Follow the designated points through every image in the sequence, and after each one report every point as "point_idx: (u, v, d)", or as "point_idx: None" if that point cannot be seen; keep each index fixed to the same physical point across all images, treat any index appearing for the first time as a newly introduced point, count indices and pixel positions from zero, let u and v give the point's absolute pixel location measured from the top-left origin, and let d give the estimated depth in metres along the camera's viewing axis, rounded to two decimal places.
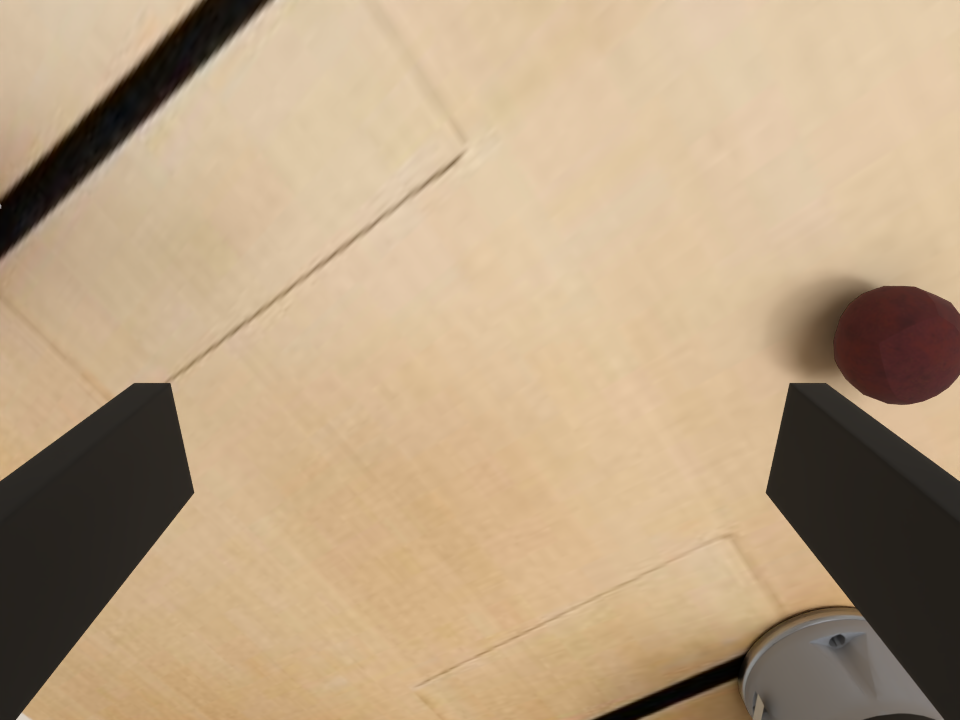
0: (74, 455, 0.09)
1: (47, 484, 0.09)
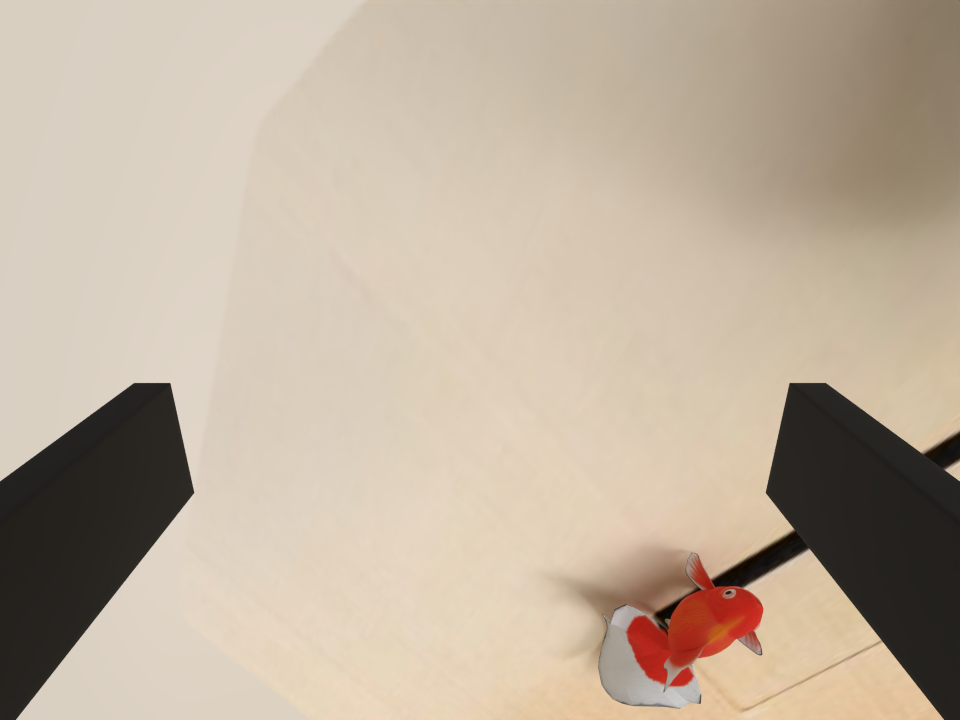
0: (74, 455, 0.09)
1: (46, 484, 0.09)
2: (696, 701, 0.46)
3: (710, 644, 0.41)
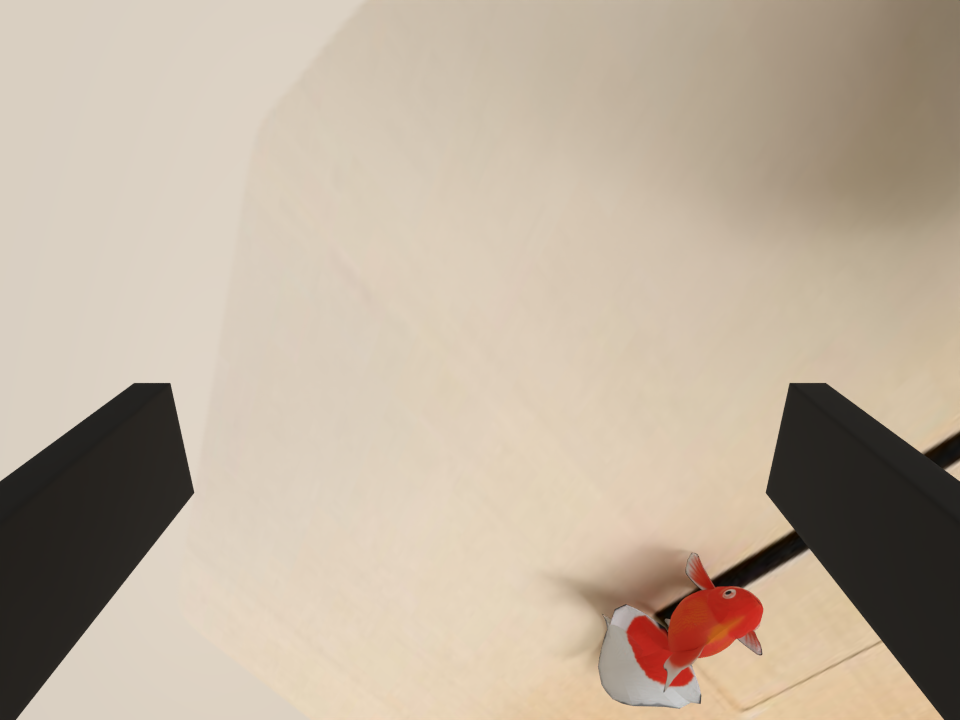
0: (74, 455, 0.09)
1: (46, 484, 0.09)
2: (696, 701, 0.46)
3: (710, 644, 0.41)
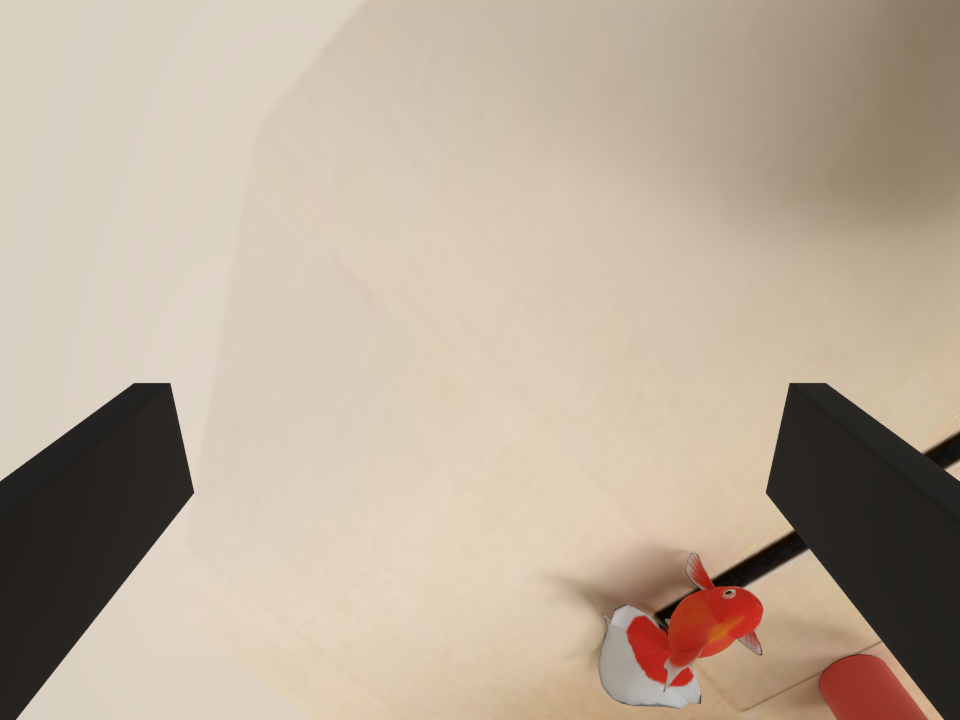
0: (74, 455, 0.09)
1: (46, 484, 0.09)
2: (696, 701, 0.46)
3: (710, 644, 0.41)
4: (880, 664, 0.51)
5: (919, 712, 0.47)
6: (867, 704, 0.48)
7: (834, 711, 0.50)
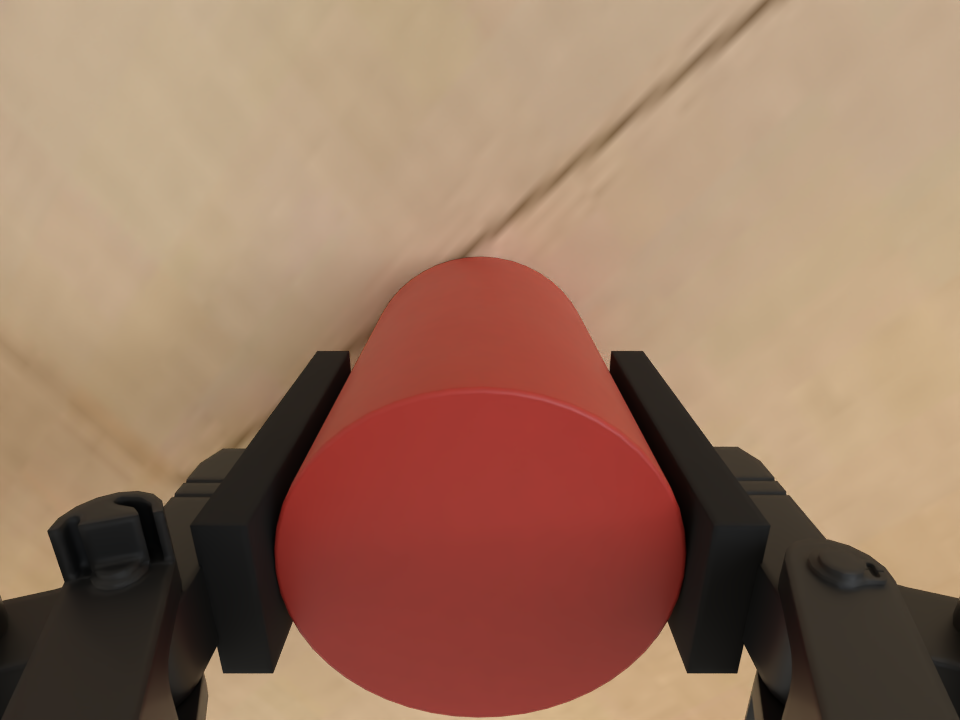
0: (311, 404, 0.11)
1: (305, 424, 0.10)
2: None
3: None
4: (524, 271, 0.15)
5: (562, 334, 0.11)
6: (381, 335, 0.12)
7: None
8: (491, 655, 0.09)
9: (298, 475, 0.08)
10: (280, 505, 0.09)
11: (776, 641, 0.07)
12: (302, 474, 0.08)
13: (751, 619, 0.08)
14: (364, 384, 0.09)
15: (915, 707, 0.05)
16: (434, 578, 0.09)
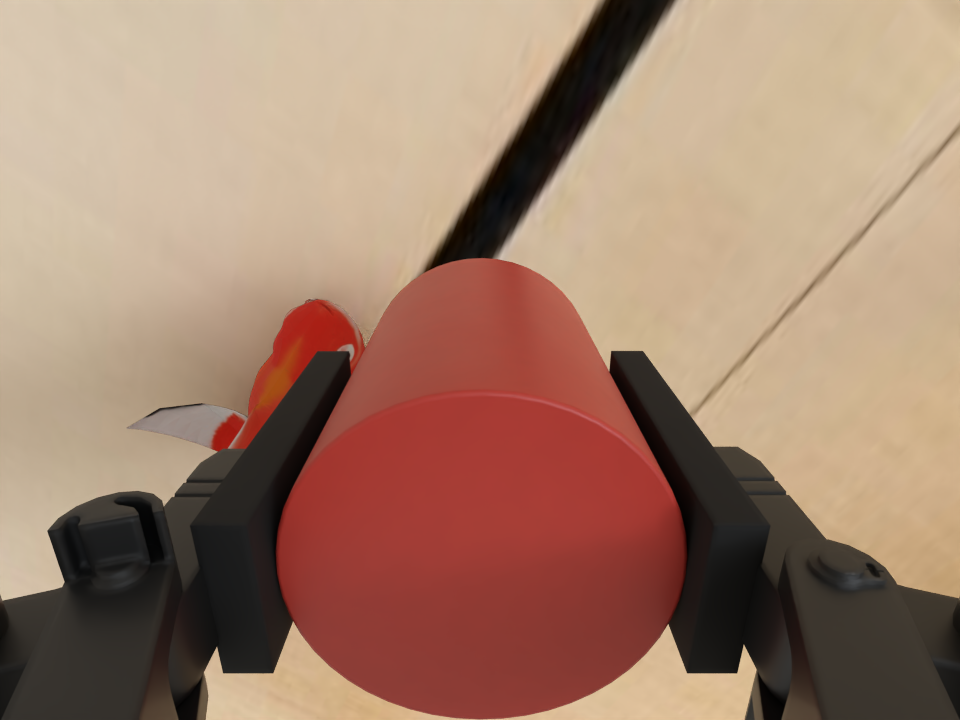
0: (311, 404, 0.11)
1: (305, 424, 0.10)
2: None
3: (268, 409, 0.22)
4: (525, 273, 0.15)
5: (563, 336, 0.11)
6: (382, 336, 0.12)
7: None
8: (492, 657, 0.09)
9: (300, 478, 0.08)
10: (280, 505, 0.09)
11: (776, 641, 0.07)
12: (304, 477, 0.08)
13: (752, 619, 0.08)
14: (365, 386, 0.09)
15: (913, 707, 0.05)
16: (435, 580, 0.09)
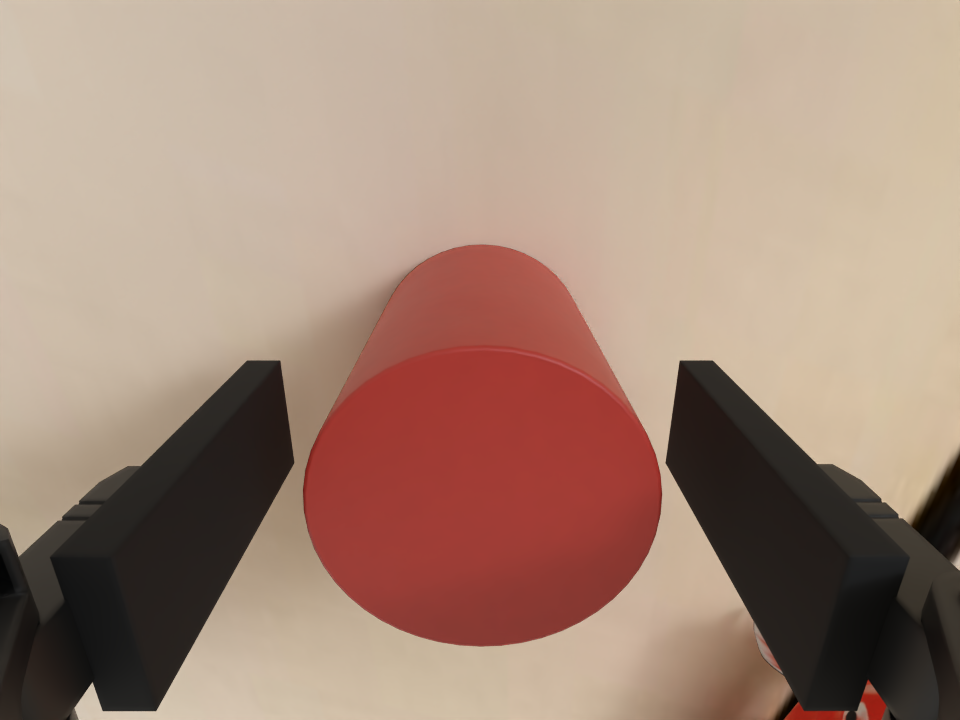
0: (223, 419, 0.10)
1: (210, 441, 0.10)
2: None
3: None
4: (522, 258, 0.16)
5: (555, 309, 0.12)
6: (392, 311, 0.13)
7: None
8: (492, 588, 0.11)
9: (325, 423, 0.09)
10: (168, 530, 0.08)
11: (915, 676, 0.07)
12: (329, 422, 0.09)
13: (882, 655, 0.08)
14: (380, 349, 0.10)
15: None
16: (443, 516, 0.10)
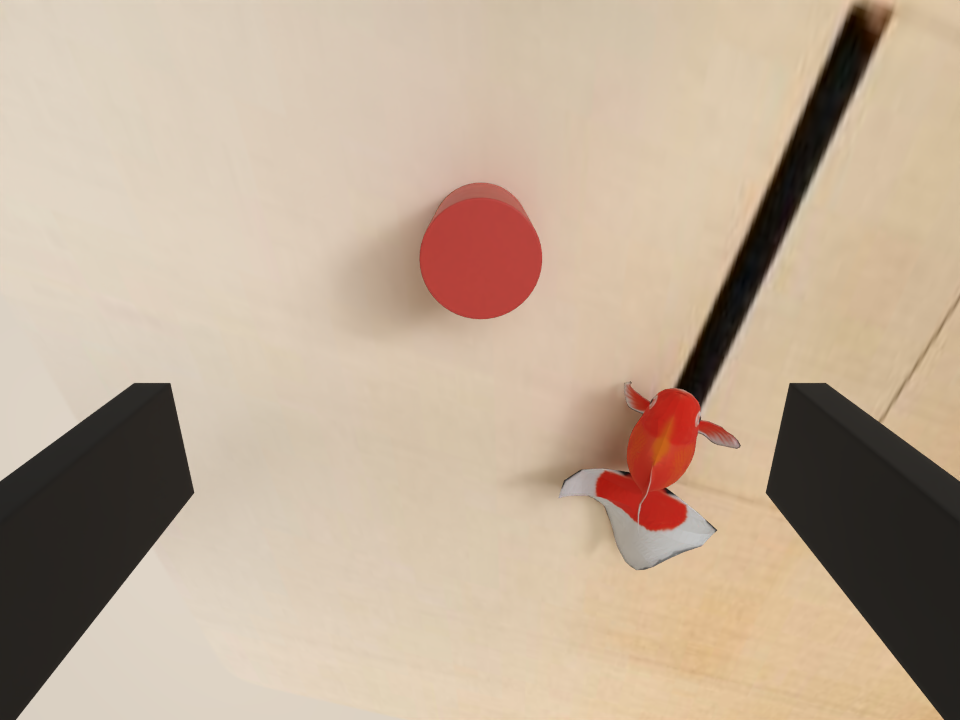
0: (74, 455, 0.09)
1: (47, 484, 0.09)
2: (711, 530, 0.39)
3: (660, 463, 0.35)
4: (499, 187, 0.35)
5: (508, 198, 0.31)
6: (444, 202, 0.32)
7: None
8: (484, 292, 0.30)
9: (429, 225, 0.29)
10: None
11: None
12: (430, 225, 0.29)
13: None
14: (445, 206, 0.30)
15: None
16: (467, 261, 0.29)
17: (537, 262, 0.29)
